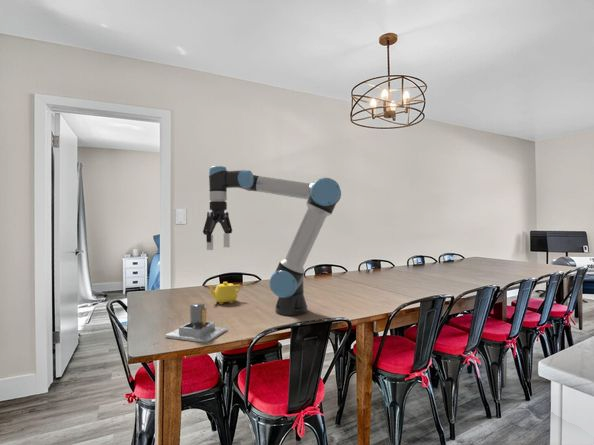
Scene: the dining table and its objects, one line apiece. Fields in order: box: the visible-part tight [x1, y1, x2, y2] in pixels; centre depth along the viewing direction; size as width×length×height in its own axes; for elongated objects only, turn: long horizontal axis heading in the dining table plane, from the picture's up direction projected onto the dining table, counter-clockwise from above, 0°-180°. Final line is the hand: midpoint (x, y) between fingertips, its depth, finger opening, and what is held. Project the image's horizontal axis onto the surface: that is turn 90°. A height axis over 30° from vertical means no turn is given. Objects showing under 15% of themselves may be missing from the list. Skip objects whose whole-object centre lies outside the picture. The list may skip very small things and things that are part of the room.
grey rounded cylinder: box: [189, 302, 208, 329], centre depth 126 cm, size 5×6×10 cm
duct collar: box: [164, 320, 228, 344], centre depth 126 cm, size 18×14×4 cm
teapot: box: [207, 281, 242, 305], centre depth 175 cm, size 18×11×11 cm, turn 110°
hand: (218, 248), depth 148 cm, fingers open, 13 cm apart
